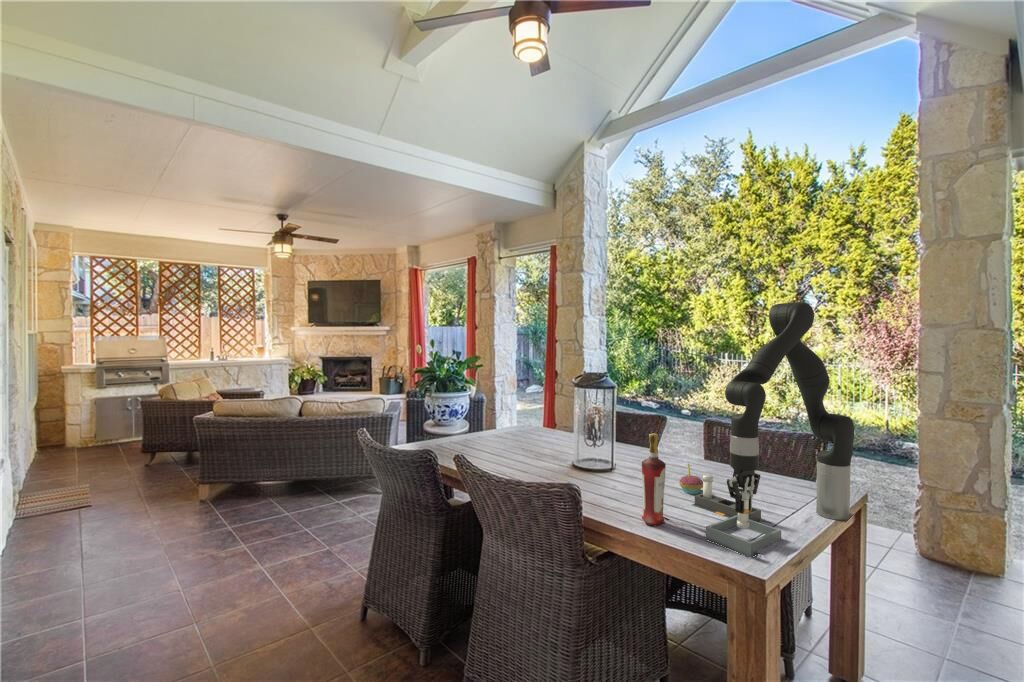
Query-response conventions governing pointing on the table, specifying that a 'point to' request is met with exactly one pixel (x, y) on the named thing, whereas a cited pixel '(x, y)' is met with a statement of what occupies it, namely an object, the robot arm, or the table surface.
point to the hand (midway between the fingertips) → (743, 510)
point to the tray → (739, 544)
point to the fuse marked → (743, 517)
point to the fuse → (707, 486)
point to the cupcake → (691, 483)
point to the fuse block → (724, 507)
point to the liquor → (653, 484)
